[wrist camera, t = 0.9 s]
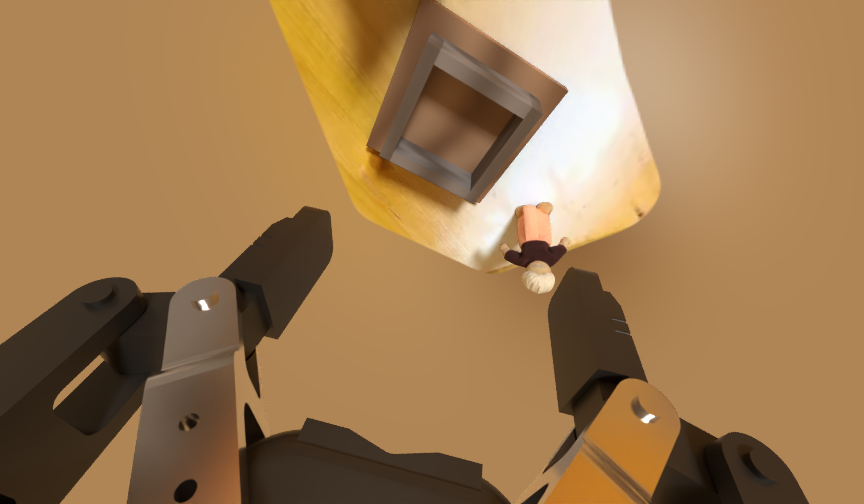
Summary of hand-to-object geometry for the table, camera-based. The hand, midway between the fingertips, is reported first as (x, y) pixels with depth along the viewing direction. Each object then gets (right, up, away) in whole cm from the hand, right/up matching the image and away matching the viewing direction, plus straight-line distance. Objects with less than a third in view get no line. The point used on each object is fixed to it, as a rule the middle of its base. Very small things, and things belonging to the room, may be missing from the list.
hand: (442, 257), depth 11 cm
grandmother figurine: (+12, +5, +30) cm, 33 cm away
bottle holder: (+2, +14, +23) cm, 27 cm away
